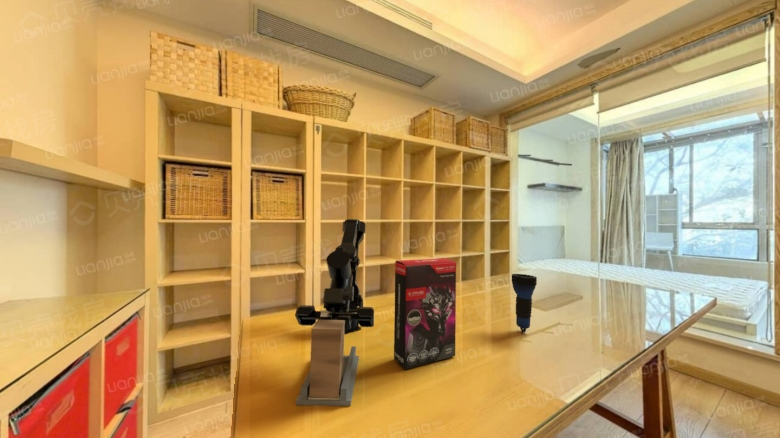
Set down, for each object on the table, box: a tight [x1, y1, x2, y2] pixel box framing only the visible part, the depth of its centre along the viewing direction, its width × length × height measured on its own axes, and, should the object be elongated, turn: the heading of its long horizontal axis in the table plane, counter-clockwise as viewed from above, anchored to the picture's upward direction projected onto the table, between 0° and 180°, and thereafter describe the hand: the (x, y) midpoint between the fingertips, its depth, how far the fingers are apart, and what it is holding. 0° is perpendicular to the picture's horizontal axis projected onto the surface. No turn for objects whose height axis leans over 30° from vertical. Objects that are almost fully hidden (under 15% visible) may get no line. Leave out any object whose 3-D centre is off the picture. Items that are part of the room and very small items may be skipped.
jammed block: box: [309, 319, 345, 398], centre depth 57 cm, size 5×6×14 cm
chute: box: [295, 345, 360, 407], centre depth 63 cm, size 18×11×4 cm, turn 1°
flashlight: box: [511, 273, 538, 334], centre depth 94 cm, size 8×8×20 cm
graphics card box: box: [393, 257, 457, 370], centre depth 74 cm, size 17×7×27 cm, turn 117°
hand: (330, 352), depth 60 cm, fingers closed, pressing on jammed block
